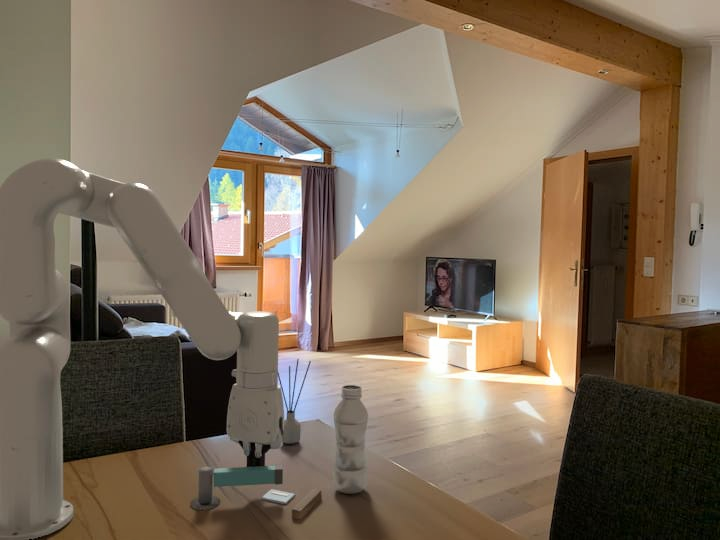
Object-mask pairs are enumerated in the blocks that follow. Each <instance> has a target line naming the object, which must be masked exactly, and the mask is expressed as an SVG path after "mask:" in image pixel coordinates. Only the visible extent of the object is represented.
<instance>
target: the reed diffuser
mask: <svg viewBox="0 0 720 540" xmlns="http://www.w3.org/2000/svg"><path fill="white" fill-rule="evenodd" d="M296 361H297V362H296V366H295V367H296V368H295V374H294V375H295V376H294V381H293V382H294V383H293V390H292V398H291V366H290V365H289V367H288V389H289V391H288V393H289V395H288V397H289V400H288V401H289V403H288V404H289V405H288V404H287V400H286V396H285V393H284V389H283V385H282V381H281V377H280V373H279V372H278V381H279V386H280V387H281V392H282V397H283V401H284V404H285V407H286V419H284V434H283V436H282V441H283V444H284V443H285V444H297V443H298V442H300V441H301V431H302V427H301V426H302V425H301V422H299V420H297V419H296V418H295V417H296V415H295V414H296V412H295V411H296V409H297V406H298V402H299V399H300V396H301V392H302V390H303V387H304V383H305V380H306V377H307V374H308V371H309V368H310V365H311V360H309V362H308V366H307V368H306V371H305V375H304V377H303V381H302V384H301V387H300V390H299V393H298V396H297V399H296V402H295V405H294V409H293V404H294V397H295V396H294V395H295V387H296V382H297V373H298V366H299V358H297V360H296ZM288 407H289V408H288Z"/></svg>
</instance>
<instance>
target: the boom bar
mask: <svg viewBox="0 0 720 540" xmlns="http://www.w3.org/2000/svg"><path fill="white" fill-rule="evenodd" d="M283 467H284V466H283V464H274V465H265V466H258V467H247V466H241V467H219V468H217V467H216V468H214V469H213V467H212V466H202V467H200V468H199V469H198V492H197V493H198V496H197V497H198V502H199V503H202V504H205V503H209V502H211V501H212V496H213V488H219V487H236V486H237V487H238V486H239V487H240V486H241V487H242V486H256V485H257V486H258V485H275V486H276V485H283V483H284V482H283V480H284V479H283V478H284V475H283V474H284V473H283V472H284V471H283V470H284V468H283Z"/></svg>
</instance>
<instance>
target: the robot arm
mask: <svg viewBox="0 0 720 540" xmlns="http://www.w3.org/2000/svg"><path fill="white" fill-rule="evenodd" d="M59 214H62V215H66V216H71V217H74V218H77V219H81V220H84V221H88V222H90V223H95V224H99V225H103V226H106V227H111V228H114V229H115V230H116V231H117V232H118V234H119V235H120V237H121V239H122V240H123V242H124V244H125V245H127V248H129V250H130V251H131V253H132V254H133V255H134V258H135V259H136V260H137V261H138V264H139V265H140V267H141V268H142V269H143V271H144V273H145V274H146V276H147V277H148V278H149V280H150V282H151V283H152V285H153V286H154V288H155V289H156V291H157V292H158V293H159V295H161V297H162V298H163V300H164V301H165V302H166V303H167V305H168V306H169V308H170V309H171V311H172V313H173V314H174V315H175V317H176V319H177V320H178V321H179V324H180V325H181V326H182V328H183V329H184V330H185V333H187V335H188V336H189V338H190V340H191V341H192V342H193V344H194V345H195V347H196V348H197V350H198V351H199V352H200V353H201V355H203V356H204V357H206V358H207V359H210V360H213V361H221V360H222V361H223V360H226V359H228V358H230V357H232V356H233V355H234V354H235V353H236V368H235V369H232V371H231V377H235V382H236V383H234V384H232V388H231V391H230V394H229V395H230V396H229V399H228V406H227V415H226V435H227V436H228V438H229V439H230V441H231V442H234V443H236V444H239V446H240V447H241V449H242V450H243V454H244V456H246V467H258V466H266V454H267V453H268V452H269V451H270V450H278V449H281V448H282V447H283V446H284V443H283V441H282V436H283V434H284V420H285V407H284V396H283V393H282V389H281V385H280V384H278V381H279V377H278V373H279V336H280V335H279V332H280V323H279V322H280V320H279V317H278V316H277V314H275V313H274V312H271V311H263V310H261V311H260V310H259V311H246V312H237V311H229V310H228V309H227V307H226V305H225V304H224V303H223V301H222V299H221V298H220V296H219V294H218V293H217V291H216V290H215V289H214V287H213V285H212V284H211V283H210V281H209V279H208V277H207V276H206V274H205V271H204V270H203V268H202V265H201V264H200V261H199V260H198V258H197V257H196V255H195V254H194V252H193V250H192V249H191V248H190V246H189V244H188V243H187V241H186V240H185V238H184V237H183V235H182V234H181V232H180V231H179V229H178V227H177V226H176V224H175V223H174V221H173V220H172V218H171V216H170V215H169V214H168V212H167V210H166V208H165V207H164V206H163V204H162V202H161V201H160V199H159V198H158V197H157V195H156V194H155V192H154V191H153V190H152V189H150V188H149V187H148V186H147V185H145V184H143V183H139V182H127V183H125V182H122V181H121V182H120V181H117V180H113V179H111V178H107V177H104V176H102V175H98V174H95V173H91V172H88V171H85V170H82V169H81V168H80V167H78V166H77V165H76V164H74V163H72V162H70V161H68V160H65V159H63V158H57V157H50V158H49V157H48V158H46V157H45V158H39V159H36V160H33V161H31V162H28V163H26V164H24V165H22V166H20V167H19V168H17V169H15V170H14V171H12V172H11V174H9V175H8V176H7V177H6V178H5V179H4V181H3V182H2V184H1V185H0V317H1V318H2V319H4V320H5V321H6V322H8V323H9V327H8V328H9V338H8V339H6V340H5V341H4V342H3V343H1V345H0V540H29V539H32V540H35V538H36V539H39V538H38V537H40V538H43V537H46V536H48V535H50V534H52V533H54V532H57V531H59V530H60V529H62V528H63V527H65V526H67V525H68V524H69V522H71V520H72V518H73V517H74V505H73V504H72V503H71V502H69V501H67V500H66V499H64V449H63V446H64V445H63V443H64V442H63V441H64V440H63V439H64V438H63V436H64V435H63V434H64V433H63V431H64V430H63V402H62V401H63V399H62V390H61V374H62V373H61V372H62V370H63V368H64V367H65V366H66V364H67V362H68V360H69V357H70V355H71V347H72V346H71V342H72V341H71V317H70V315H71V314H70V311H71V310H70V294H69V291H70V290H69V288H68V283H67V280H66V278H65V277H64V275H63V274H62V273H61V272H60V271H59V270H57V269H56V255H55V254H56V239H55V238H56V237H55V232H54V231H55V229H54V225H55V219H56V217H57V216H58V215H59ZM45 535H46V536H45ZM42 536H43V537H42Z"/></svg>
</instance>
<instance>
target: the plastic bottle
mask: <svg viewBox="0 0 720 540" xmlns="http://www.w3.org/2000/svg"><path fill="white" fill-rule="evenodd" d="M340 397H341V400H340V402H339V403H338V404H337V406H336V408H335V409H334V411H333V423H334V428H335V429H334V431H335V441H336V442H335V446H336V448H335V450H336V451H335V461H334V467H333V470H332V481H333V486H334V488H335V489H336V490H337V491H338V492H339V493H343V494H348V495H353V494H359V493H361V492H364V490H365V488H366V487H367V483H368V478H369V477H368V469H367V465H366V453H365V452H366V451H365V446H366V444H365V443H366V433H367V427H368V419H369V413H368V410H367V408H366V407H365V405H364V402H362V400H361V399H362V397H363V394H362V386H360V385H356V384H346V385H343V386H342V387H341V393H340Z"/></svg>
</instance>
